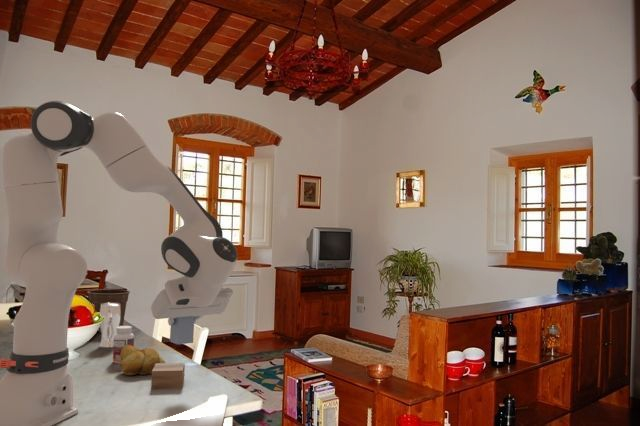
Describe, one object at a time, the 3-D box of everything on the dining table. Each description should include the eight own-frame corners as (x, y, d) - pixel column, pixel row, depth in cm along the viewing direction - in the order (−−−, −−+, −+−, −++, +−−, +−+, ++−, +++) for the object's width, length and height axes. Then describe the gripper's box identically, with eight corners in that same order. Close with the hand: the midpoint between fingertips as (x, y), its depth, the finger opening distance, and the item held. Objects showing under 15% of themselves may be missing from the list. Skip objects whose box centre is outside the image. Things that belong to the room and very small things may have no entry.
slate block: (193, 342, 139) (194, 308, 139) (177, 344, 136) (179, 310, 136) (185, 339, 142) (186, 306, 143) (169, 341, 139) (171, 307, 140)
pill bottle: (129, 358, 170) (130, 324, 170) (136, 362, 165) (137, 327, 166) (109, 360, 166) (111, 326, 167) (116, 365, 161) (117, 329, 162)
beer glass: (98, 344, 188) (99, 303, 189) (118, 343, 191) (120, 302, 192) (98, 348, 182) (100, 305, 182) (119, 347, 185) (121, 305, 185)
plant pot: (121, 325, 225) (122, 288, 225) (134, 331, 212) (135, 292, 213) (81, 329, 215) (82, 289, 215) (92, 336, 202) (93, 294, 203)
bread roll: (164, 367, 161) (165, 341, 161) (165, 376, 152) (166, 348, 152) (120, 369, 157) (121, 343, 157) (118, 378, 148) (119, 350, 148)
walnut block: (181, 389, 140) (182, 370, 141) (151, 389, 139) (151, 371, 139) (184, 380, 148) (184, 362, 148) (155, 381, 147) (155, 363, 147)
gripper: (231, 279, 142) (211, 310, 149) (160, 281, 128) (141, 315, 135) (239, 297, 138) (218, 328, 145) (167, 301, 125) (148, 335, 132)
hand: (181, 322), depth 140 cm, fingers closed on slate block, 4 cm apart
